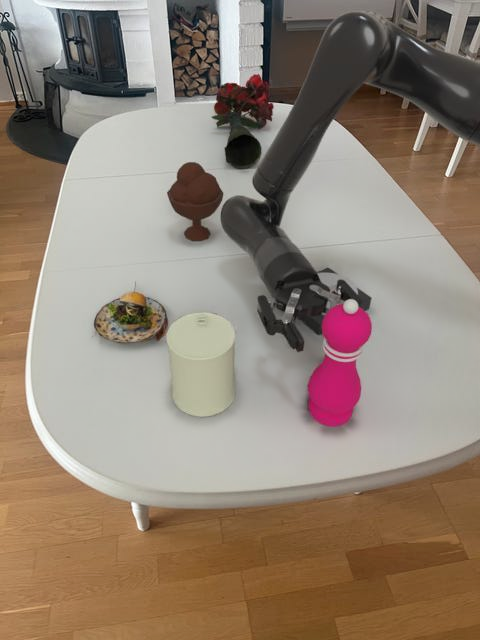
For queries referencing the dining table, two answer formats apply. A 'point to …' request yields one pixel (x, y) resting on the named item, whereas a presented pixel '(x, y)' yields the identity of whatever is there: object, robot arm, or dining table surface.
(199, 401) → the can
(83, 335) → the dining table surface
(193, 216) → the ice cream bowl
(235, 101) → the red flower bouquet
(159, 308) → the burger
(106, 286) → the dining table surface
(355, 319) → the pepper mill
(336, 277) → the kitchen scale
